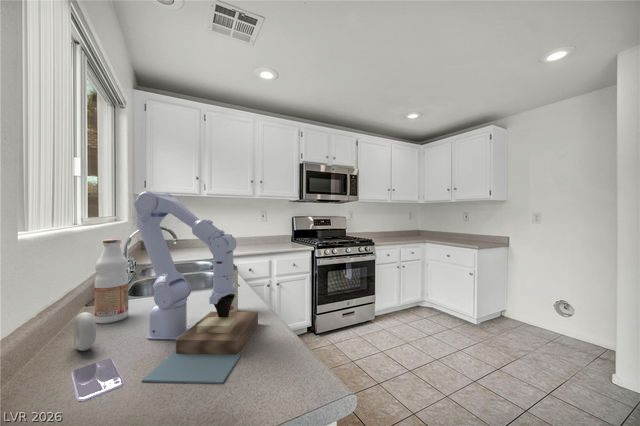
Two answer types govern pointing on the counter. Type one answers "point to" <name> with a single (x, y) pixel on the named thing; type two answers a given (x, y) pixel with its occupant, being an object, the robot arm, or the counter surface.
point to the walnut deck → (218, 336)
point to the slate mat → (194, 368)
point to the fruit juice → (111, 284)
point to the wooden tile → (217, 325)
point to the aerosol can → (235, 280)
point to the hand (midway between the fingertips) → (223, 320)
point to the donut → (84, 331)
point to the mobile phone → (96, 379)
